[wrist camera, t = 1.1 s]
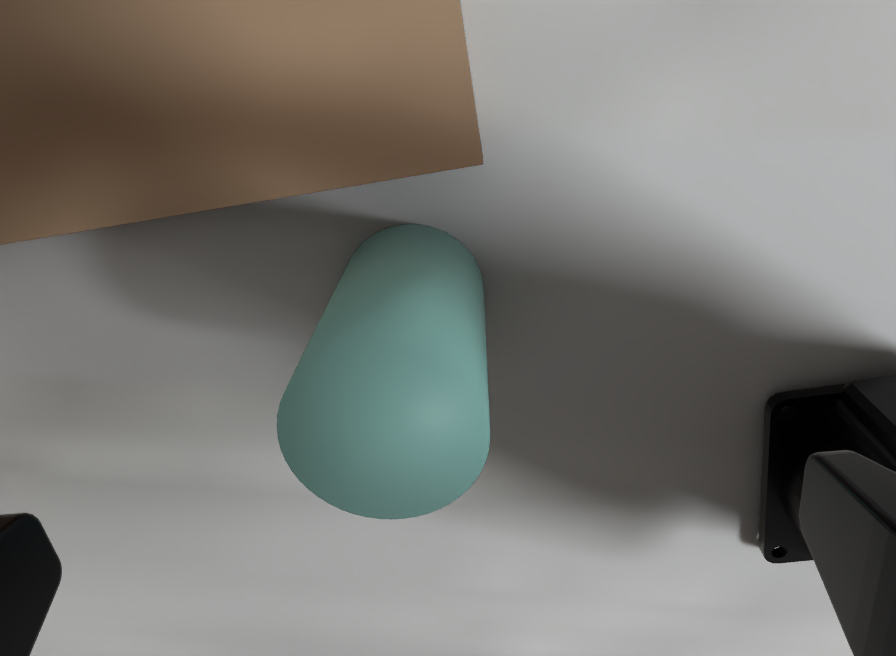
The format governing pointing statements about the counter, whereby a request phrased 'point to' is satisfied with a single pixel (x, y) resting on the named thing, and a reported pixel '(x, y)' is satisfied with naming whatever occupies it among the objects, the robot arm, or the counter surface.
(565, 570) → the counter surface
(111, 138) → the housing board
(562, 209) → the counter surface
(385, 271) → the teal peg
